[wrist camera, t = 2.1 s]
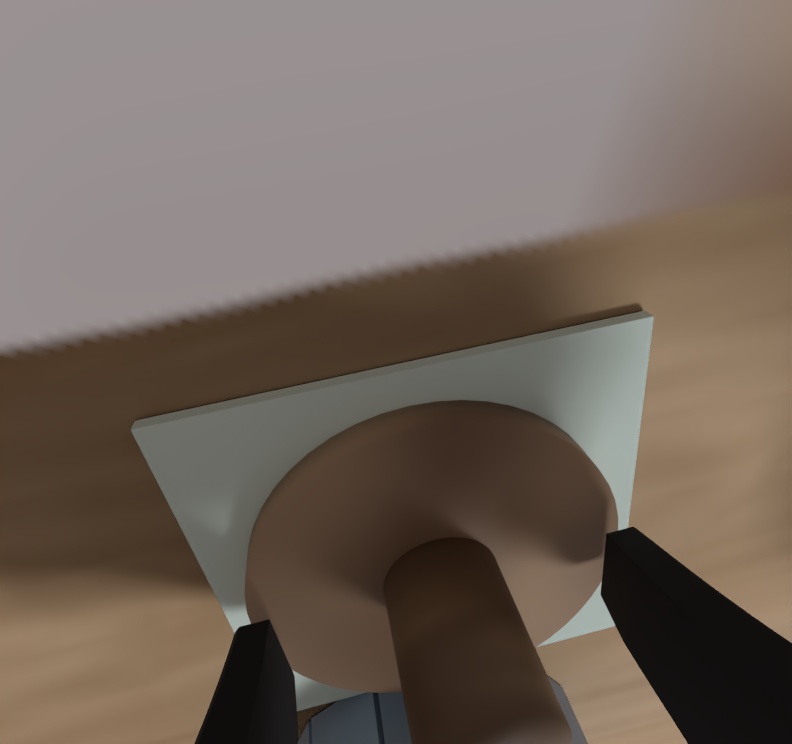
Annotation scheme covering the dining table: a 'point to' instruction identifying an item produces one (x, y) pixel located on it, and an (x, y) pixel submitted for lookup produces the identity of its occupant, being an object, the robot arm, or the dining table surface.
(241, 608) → the mat
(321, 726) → the bowl
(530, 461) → the lid
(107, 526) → the dining table surface
